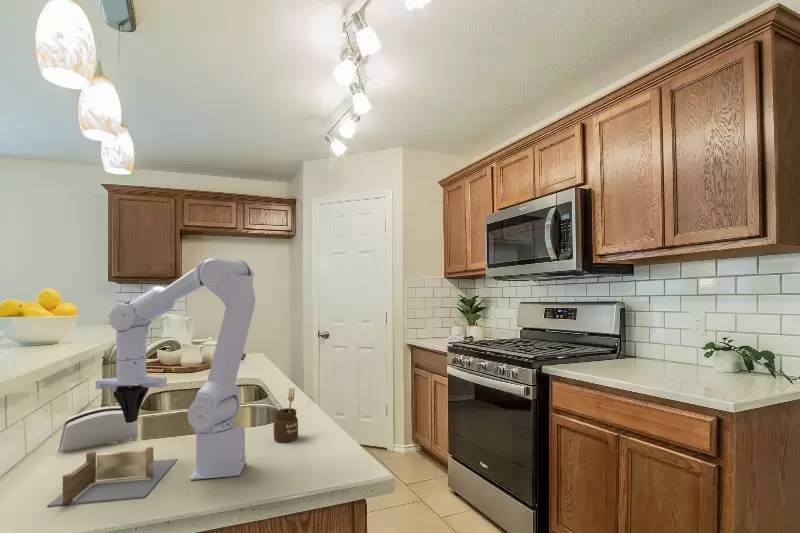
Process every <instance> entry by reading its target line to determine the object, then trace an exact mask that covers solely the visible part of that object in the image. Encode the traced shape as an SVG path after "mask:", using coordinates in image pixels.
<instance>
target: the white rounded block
mask: <svg viewBox="0 0 800 533" xmlns="http://www.w3.org/2000/svg"><path fill="white" fill-rule="evenodd" d="M138 433H139V432H138V419H137V420H136V421H134V422H132V423H126V421H125V417H124V414H123V411H122V409H121V406H120V405H119V406H118V405H116V406H115V405H113V406H103V407H98V408H97V407H96V408H92V409H88V410H85V411H83V412H82V411H81V412H80V413H77V414H74V415H72V416H69V417H67V418H66V419H65V420H64V423H63V428H62V432H61V437H60V441H59V446H58V447H59V451H60V453H64V452H65V453H66V452H70V451H75V450H79V449H85V448H88V447H93V446H99V445H103V444H108V443H112V442H117V441H121V440H127V439H133V438H137V437H139V434H138Z"/></svg>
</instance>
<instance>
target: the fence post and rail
mask: <svg viewBox="0 0 800 533" xmlns="http://www.w3.org/2000/svg"><path fill="white" fill-rule="evenodd" d="M85 455H86V456H85V462H84V463H83V464H81V465H80V466H79V467H78V468H76V469H75V470H74V471H72V472H71V473H68V474H64V475H62V493H63V505H62V506H63V507H66V506H71V505H70V503H71V502H72V499H73V498H74V497H75V496H76V495H78V494H79V493H80V492H81V491H82V490H84V489H85V488H86V487H87V486H88V485H89V484H92V483H94V482H96V467H97V452H96V451H89V452H87V453H86V454H85Z"/></svg>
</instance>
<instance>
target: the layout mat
mask: <svg viewBox="0 0 800 533" xmlns="http://www.w3.org/2000/svg"><path fill="white" fill-rule="evenodd" d="M177 461H178V458H170V459H168V458H167V459H158V460H153V476H150V477H146V476H138V477H128V478H117V479H107V480H97V466H96V482H94V483H92V484H89V485H88V486H87V487H86V488H85V489H84V490H82V491H81V492H80V493H79V494H78V495H76V496H75V497H74V498H73V499H72V502H71V503H70V505H69V506H71V505H81V504H92V503H103V502H105V503H106V502H111V501H112V502H113V501H125V500H136V499H145V498H147V496H148V495H149V494H150V492H151V491H152V490H154V489H155V487H156V486H157V484H158V483H159V482H160V481H161V480H162V478H163V477H165V475H166V474H167V473H168V471H169V470H170V469H171V468H172V467H173V466H174V464H175V463H176V462H177ZM61 506H63V492H62V493H61V494H60V495H59V496H57V497H56V498H55V499H53V500H52V501H51V502H50V503H48V504H47V508H51V507H61Z"/></svg>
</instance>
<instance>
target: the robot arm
mask: <svg viewBox="0 0 800 533" xmlns="http://www.w3.org/2000/svg"><path fill="white" fill-rule="evenodd" d="M254 277H255V272H254V271H253V270H252V268H251V267H250V265H249V264H248V263H247V262H246V261H245V260H242V259H230V258H229V259H227V258H220V257H214V256H213V257H209V258H207V259H206V260H204V261H201V262H199V263H197V264H196V265H195V267H194V268H192V269H191V270H190V271H188V272H187V273H185V274H184V275H182V276H181V277H179V278H178V279H176V280H175V281H173V282H172V283H170V284H169V285H168V286H166V287H164V286H161V285H158V286H153V285H152V286H150V287H148V288H147V290H148V291H146V292H145V293H143V294H142V295H140V296H137V297H136V296H135V297H133V298H131V301H130V302H129V303H124V302H123V303H122V302H121V303H117V304H115V306H114V307H113V308H112V309H111V311H110V312H109V317H108V318H109V323H110V325H111V327H112V328H113V329H114V330H115V358H116V359H115V363H116V364H115V372H116V373H115V376H116V377H113V378H111V377H110V378H100V379H96V380H95V390H102V389H115V391H113V393H112V394H113V397H114V398H115V399H116V401H117V402H118V404H119V406H121V409H122V411H123V414H124V417H125V421H126V423H132V422H134V421H136V420H137V421H138V416H139V413H140V409H141V406H142V403H143V401H144V400H145V397H146V395H147V394H148V391H149V390H150V388H158V389H161V388H165V387H167V383H168V382H167V376H164V377H163V376H147V336H148V334H149V328H150V326H151V324H152V322H153V320H155V319H157V318H158V317H160V316H162V315H164V314H165V313H167V312H169V311H170V310H172V309H173V308H174V307H175V303H176V301H177V300H179V299H181V298H183V297H185V296H187V295H188V294H189V295H190V294H191V293H193V292H195V291H197V290H198V289H200V288H202V287H205V288H207V289H208V290H209V291H211V292H212V294H214V295H215V296H217V297H218V298H219V299H220V300H221V302H222V303H223V305H224V306H225V310H224V315H223V318H222V320H221V326H220V329H219V333H218V338H217V342H216V346H215V348H214V352H213V353H214V354H213V357H212V360H211V361H212V362H211V365H210V368H209V373H208V377H207V380H206V381H205V383H204V384H203V385H202V386H201V388H200V389H199V390H198V391H197V392H196V397H195V399H194V401H193V402H192V403H191V404H190V406H189V408H188V410H187V420H188V423H189V425H190V427H191V428H192V429H193V431H194V433H195V451H196V452H195V460H196V461H195V466H196V468H195V469H194V471H193V473H192V474H191V475H190V477H189V480H190V481H193V480H194V481H195V480H206V479H215V478H227V477H236V476H237V477H238V476H240V475H241V474H242V471H243V469H244V468H245V467H244V466H245V464H246V462H247V461H246V431H245V430H246V429H245V426H244V425H234V424H235V418H236V416H238V414H239V412H240V408H241V403H240V393H241V389H240V387H239V386H238V385H237V384H236V380H237V376H238V373H239V369H240V366H241V361H242V357H243V353H244V351H245V350H244V349H245V346H246V342H247V338H248V334H249V331H250V330H249V329H250V326H251V323H252V318H253V316H254V310H255V308H256V295H255V290H254V284H253V281H254Z"/></svg>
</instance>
